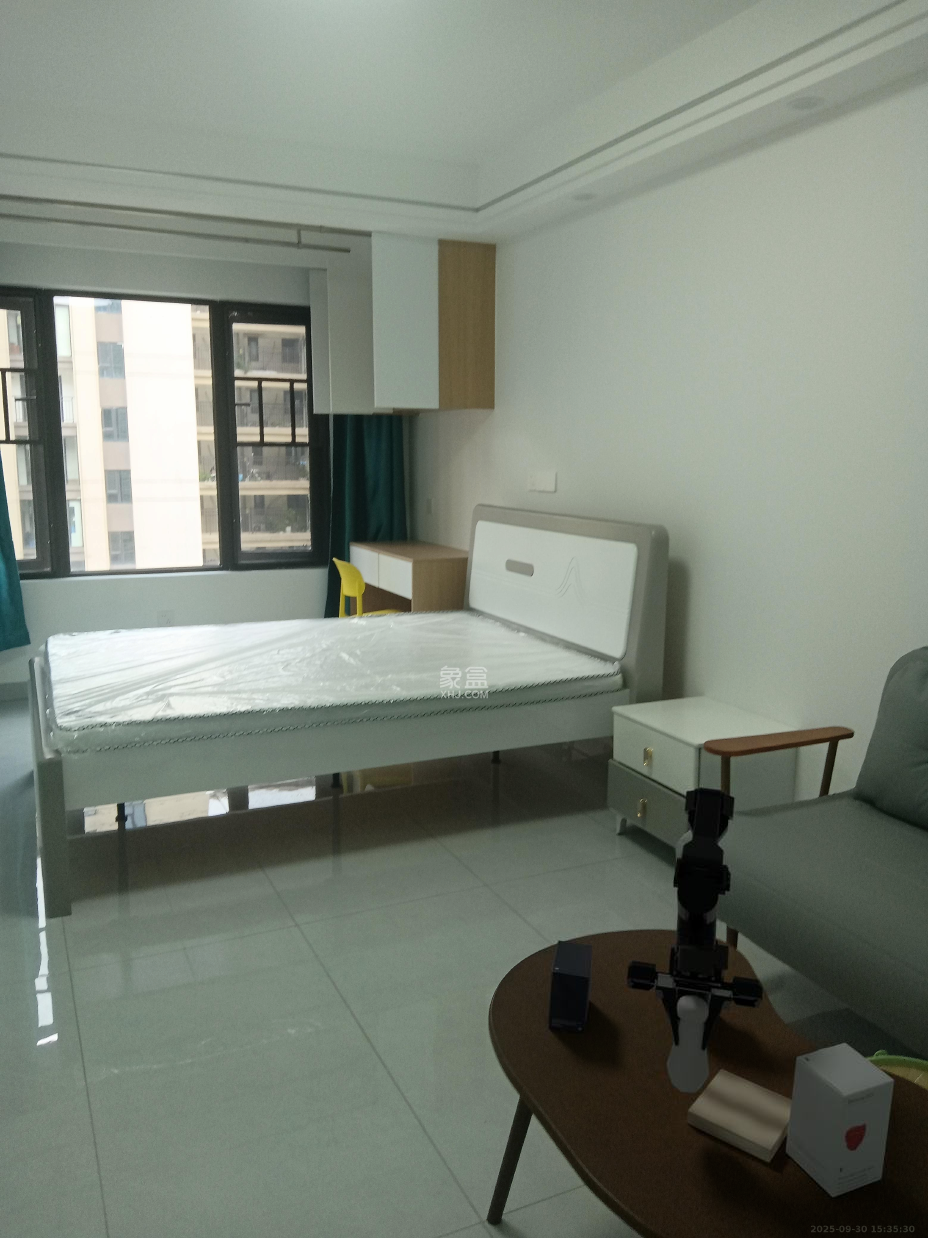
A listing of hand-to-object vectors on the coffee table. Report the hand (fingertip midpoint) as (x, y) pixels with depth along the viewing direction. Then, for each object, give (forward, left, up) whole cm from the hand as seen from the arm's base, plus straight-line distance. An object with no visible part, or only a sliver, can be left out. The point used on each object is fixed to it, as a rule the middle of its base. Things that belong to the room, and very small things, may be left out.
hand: (689, 1048), depth 131 cm
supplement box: (-7, +19, -13) cm, 24 cm away
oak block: (-8, +6, -14) cm, 17 cm away
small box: (-14, -27, -13) cm, 33 cm away
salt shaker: (-1, -1, -7) cm, 7 cm away
